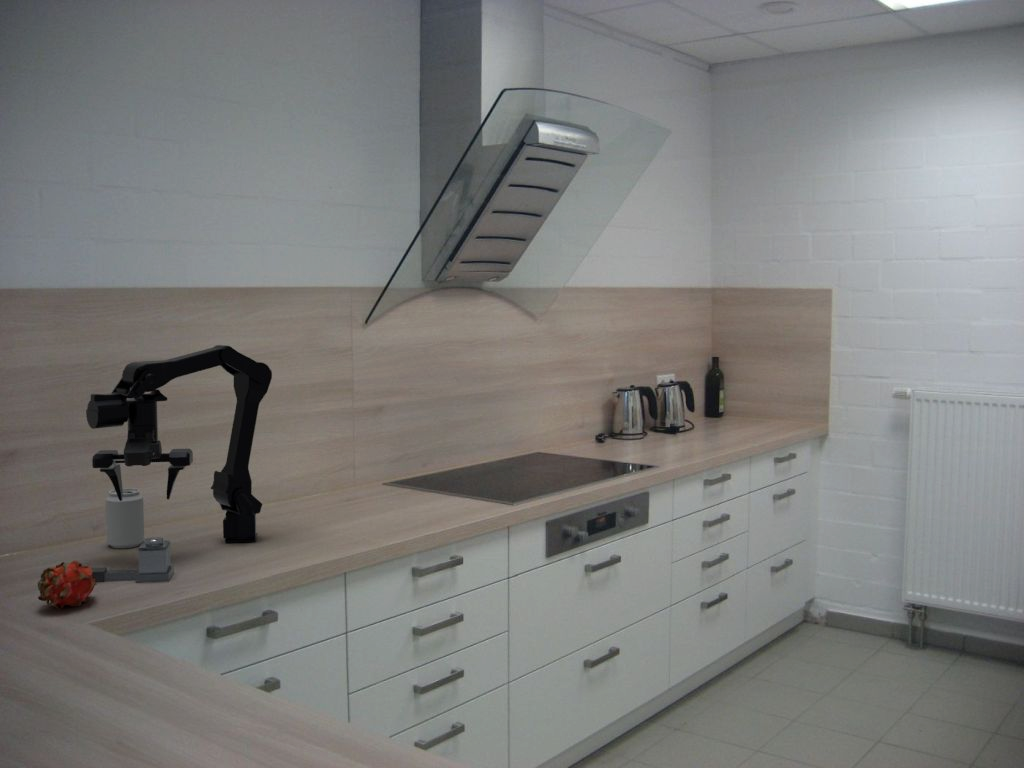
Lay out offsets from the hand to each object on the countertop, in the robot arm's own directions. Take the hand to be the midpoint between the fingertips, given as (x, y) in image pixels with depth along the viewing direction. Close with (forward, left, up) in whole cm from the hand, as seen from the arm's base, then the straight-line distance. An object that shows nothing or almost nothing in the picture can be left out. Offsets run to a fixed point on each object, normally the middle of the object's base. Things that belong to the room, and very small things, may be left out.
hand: (144, 499), depth 206 cm
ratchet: (+3, +15, -12) cm, 20 cm away
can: (+6, -11, -12) cm, 17 cm away
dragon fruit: (+8, +30, -12) cm, 33 cm away
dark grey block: (-4, +15, -11) cm, 19 cm away
